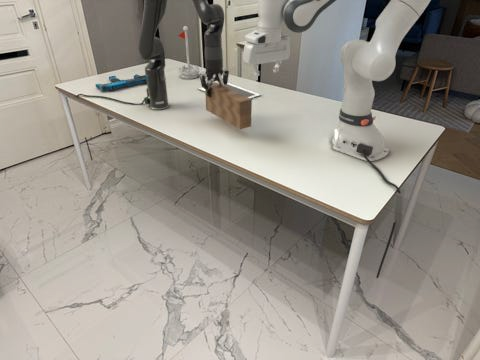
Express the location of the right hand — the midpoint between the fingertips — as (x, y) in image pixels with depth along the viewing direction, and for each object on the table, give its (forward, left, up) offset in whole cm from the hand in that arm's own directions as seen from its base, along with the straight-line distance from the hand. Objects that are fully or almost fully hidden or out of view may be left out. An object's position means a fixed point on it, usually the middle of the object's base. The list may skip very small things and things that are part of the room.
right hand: (266, 73), depth 131 cm
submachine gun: (+108, +22, -27) cm, 113 cm away
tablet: (+56, -20, -27) cm, 65 cm away
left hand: (+27, +7, -15) cm, 31 cm away
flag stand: (+97, -17, -27) cm, 102 cm away
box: (+17, +7, -22) cm, 29 cm away
